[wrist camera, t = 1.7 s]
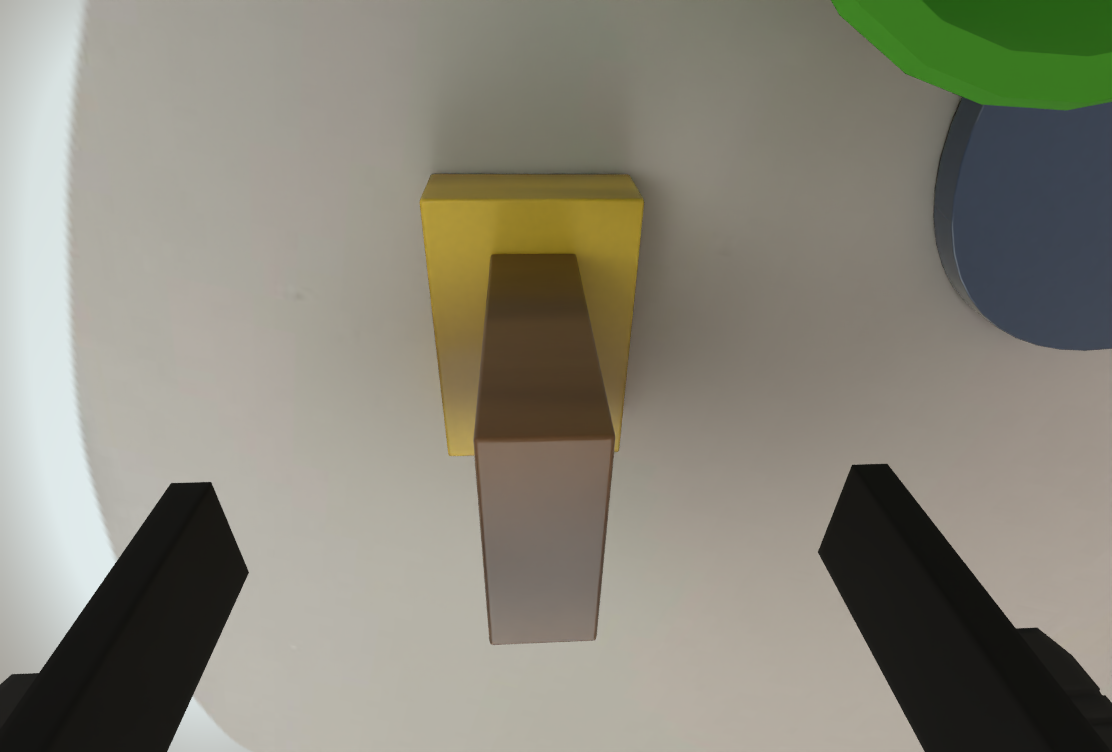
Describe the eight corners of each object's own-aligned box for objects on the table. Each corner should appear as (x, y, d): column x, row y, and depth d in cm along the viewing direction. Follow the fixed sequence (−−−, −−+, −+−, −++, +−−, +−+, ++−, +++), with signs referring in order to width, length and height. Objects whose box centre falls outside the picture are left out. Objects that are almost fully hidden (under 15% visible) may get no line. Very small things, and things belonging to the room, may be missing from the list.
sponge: (430, 173, 17) (345, 365, 9) (629, 173, 18) (739, 359, 9) (454, 413, 22) (415, 686, 14) (609, 409, 23) (667, 674, 14)
